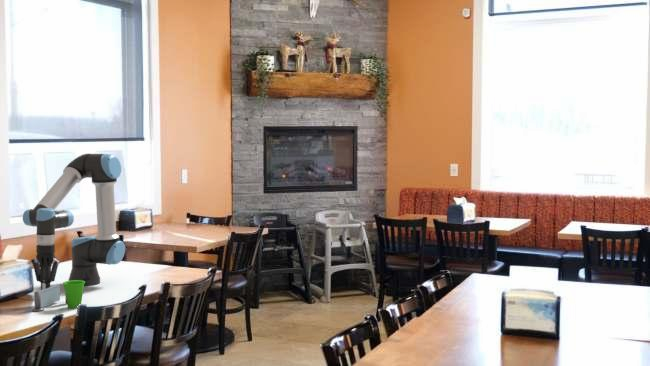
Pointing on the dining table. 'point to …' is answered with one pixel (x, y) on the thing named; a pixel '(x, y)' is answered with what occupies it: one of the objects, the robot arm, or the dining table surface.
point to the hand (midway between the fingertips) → (45, 297)
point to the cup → (74, 292)
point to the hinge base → (37, 310)
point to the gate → (47, 296)
